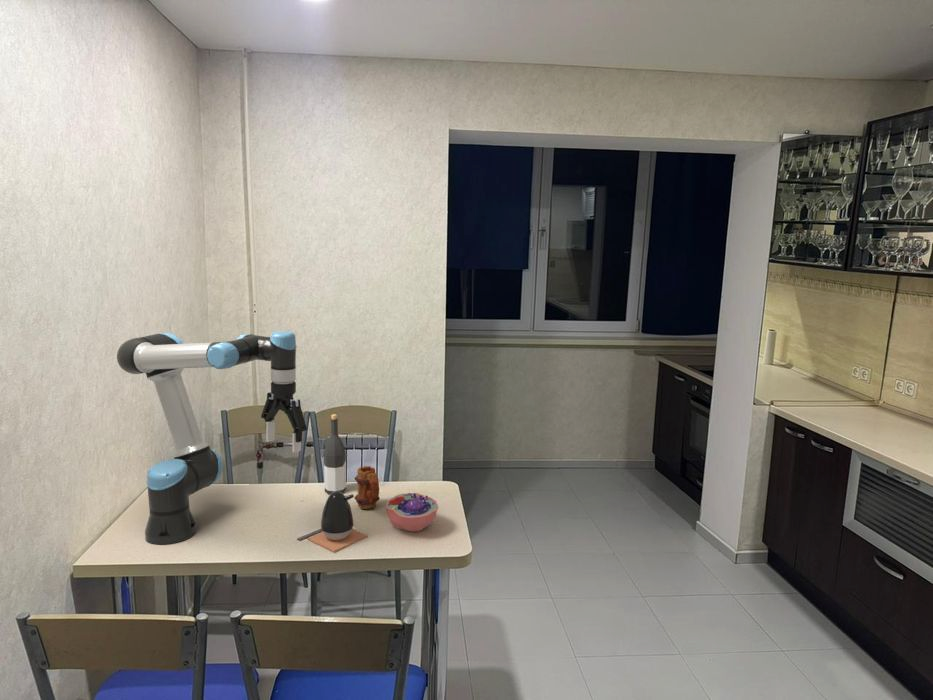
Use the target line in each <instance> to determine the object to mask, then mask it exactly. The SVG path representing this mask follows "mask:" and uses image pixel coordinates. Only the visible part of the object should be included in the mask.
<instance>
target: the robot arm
mask: <svg viewBox="0 0 933 700" xmlns="http://www.w3.org/2000/svg"><path fill="white" fill-rule="evenodd" d="M296 340H297V339H296V334H295V333H294V332H292V331H287V330H285V331H282V330H278V331H274V332H271V334H270V336H265V335H264V336H263V335H257V334H253V333H250V334H247V333H245V334H240V335H239V336H238V337H237V338H236V339H235V340H228V341H214V342H197V343H196V342H195V343H194V342H193V343H184V342H183V341H182V339H180V338H179V336H176V335H175V334H172V333H168V332H162V333H155V334H151V335H145V336H140V337H134V338H131V339H128V340H126V341H125V342H123V343H122V344H121V345H120V346H119V347H118V350H117V353H116V360H117V361H116V362H117V363H118V365H119V367H120V368H121V369H122V370H123V371H124V372H126V373H128V374H130V375H131V374H132V375H141V374H145V375H146V379H147V380H149V381H151V382H152V383H153V384H154V386H155V389H156V393H157V396H158V398H159V402H160V404H161V408H162V411H163V413H164V417H165V419H166V423H167V426H168V429H169V431H170V435H171V438H172V440H173V443H174V447H175V449H176V450H175V453H173V456H172V457H173V458H171V459H167V460H161V461H159V462H156V463H155V464H153V465H152V466H151V467H150V468H149V469H148V471H147V474H146V477H147V480H146V486H147V496H148V497H147V498H148V505H149V506H148V507H149V508H148V509H149V517H148V520H147V523H146V527H145V531H144V536H145V537H144V538H145V541H146V542H147V543H150V544H155V545H171V544H176V543H179V542H182V541H185V540H188V539H190V538H191V537H193V536H194V535H195V534H196V532H197V522H196V520H195V518H194V515H193V513H192V512H191V509H190V499H189V496H192V495H193V494H195V493H196V492H198V491H201V490H203V489H204V488H207V487H210V486H211V485H212V484H214V483H216V482H217V481H218V480H219V479H220V477H221V476H222V473H223V472H224V471H223V469H224V464H223V459H222V457H221V455H220V453H218V452H217V450H215V449H212V448H211V447H210V444H209V443H208V442H206V441H204V440H203V438H202V437H203V436H202V434H201V431H200V429H199V426H198V423H197V419H196V416H195V413H194V410H193V407H192V404H191V402H190V398H189V395H188V392H187V390H186V386H185V382H184V380H183V377H182V373H183V370H184V369H198V368H200V369H201V368H215V369H216V370H225V369H230V368H232V367H235V366H239V365H242V364H247V363H249V362H253V361H265V362H266V361H267V362H270V381H271V382H270V392H267V394H266V401H265V403H264V407H263V409H262V412H261V414H260V415H261V416H260V417H261V419H263V420H264V422H265V430H266V431H265V433H266V435H265V437H266V438H265V439H266V442H267V443H269V442H272V441H276V436H275V435H276V422H275V417H276V416H277V414H278V413H279V411H282V412H284V414H285V415H286V416H287V418H288V420H289V423H290V425H291V428H292V429H293V431H292V441H291V443H292V445H291V446H292V453H297V452H301V451H302V441H303V438H302V437H303V432H305V431H307V429H308V428H307V425H306V420H305V417H304V413H303V409H302V407H301V400H300V399H294V395H295V394H296V392H297V388H296V387H297V382H296V369H297V365H296V364H297V363H296V361H297V359H296V358H297V357H296V354H297V342H296Z"/></svg>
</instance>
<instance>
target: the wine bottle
mask: <svg viewBox="0 0 933 700" xmlns="http://www.w3.org/2000/svg"><path fill="white" fill-rule="evenodd" d="M330 417H331V418H330V436H329V438H328V440H327V442H326V445H325V446H324V449H323V450H324V451H323V472H324V475H323V476H324V478H323V479H324V482H323V483H324V492H325V493H326V494H327V495H328V496H330V494H331V493H333V492H341V493H343V494H345V492H346V491H347V456H346V455H347V451H346V448H345V445H344V443H343V441H342V438H341V437H340V436H339V432H338V431H339V427H338V425H339V424H338V423H339V422H338V420H339V418H338V415H337V414H336V413H335V414H334V413H333V414H331V415H330Z"/></svg>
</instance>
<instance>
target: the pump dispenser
mask: <svg viewBox="0 0 933 700" xmlns="http://www.w3.org/2000/svg"><path fill="white" fill-rule="evenodd" d="M354 497H355V496H354V494H348V495H345V493H341V492H333V493H331V494H330V495H328V497H327V499H326V501H325V504H324V506H323V510H322V514H321V520H320V521H321V522H320V527H321V528H320V529H322V530H323V531H322V532H323V533H324V535H325V536H326V537H327V538H328V539H331V540H342V539H344V538H346V537H347V536H348V535H349V534H350V533H351V530H352V529H354V528H353V527H354V518H353V512H352V508H351V505H350V503H349V500H351V499H354Z"/></svg>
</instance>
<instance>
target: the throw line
mask: <svg viewBox="0 0 933 700" xmlns="http://www.w3.org/2000/svg"><path fill="white" fill-rule="evenodd" d="M321 532H323V530H322V529H321V528H318V529H316V530H313V531H312V532H309V533H307V534H305V535H302V536H300V537H296V540H297V541H299V542H301V541H303V540H305V539H307V538H309V537H312V536H314V535H316V534H319V533H321Z"/></svg>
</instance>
